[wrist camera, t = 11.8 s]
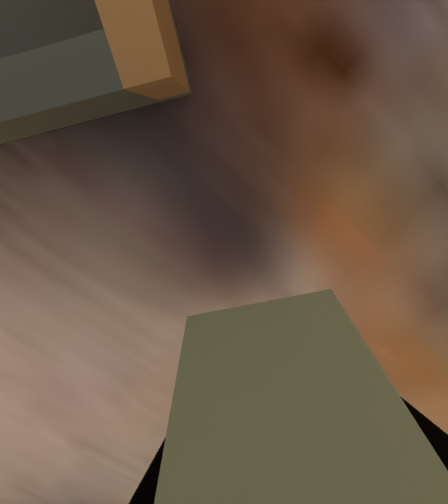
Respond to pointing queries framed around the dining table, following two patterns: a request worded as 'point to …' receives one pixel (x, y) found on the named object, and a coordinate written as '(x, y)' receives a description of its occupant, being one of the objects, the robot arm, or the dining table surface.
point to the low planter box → (84, 61)
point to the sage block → (290, 414)
